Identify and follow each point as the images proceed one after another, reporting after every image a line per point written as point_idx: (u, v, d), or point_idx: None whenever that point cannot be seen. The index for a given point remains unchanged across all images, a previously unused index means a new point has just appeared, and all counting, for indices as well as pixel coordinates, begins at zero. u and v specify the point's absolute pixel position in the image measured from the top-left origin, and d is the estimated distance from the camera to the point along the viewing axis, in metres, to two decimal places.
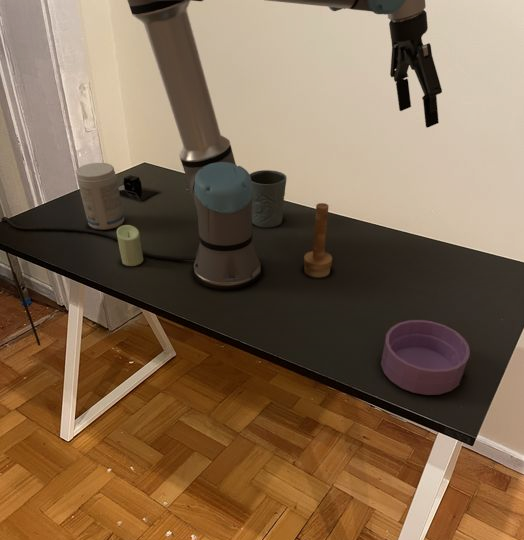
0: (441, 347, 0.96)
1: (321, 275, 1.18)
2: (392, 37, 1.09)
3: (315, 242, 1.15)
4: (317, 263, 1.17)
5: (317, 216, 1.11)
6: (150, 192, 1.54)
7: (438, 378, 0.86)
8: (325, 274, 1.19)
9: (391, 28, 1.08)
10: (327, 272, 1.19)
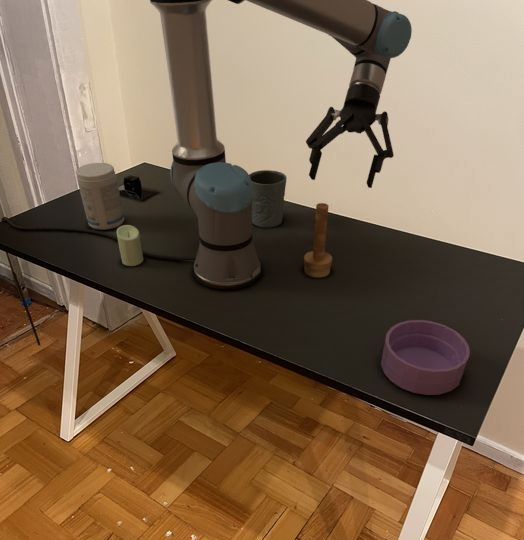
0: (441, 347, 0.96)
1: (321, 275, 1.18)
2: (358, 94, 1.15)
3: (315, 242, 1.15)
4: (317, 263, 1.17)
5: (317, 216, 1.11)
6: (150, 192, 1.54)
7: (438, 378, 0.86)
8: (325, 274, 1.19)
9: (361, 86, 1.15)
10: (327, 272, 1.19)
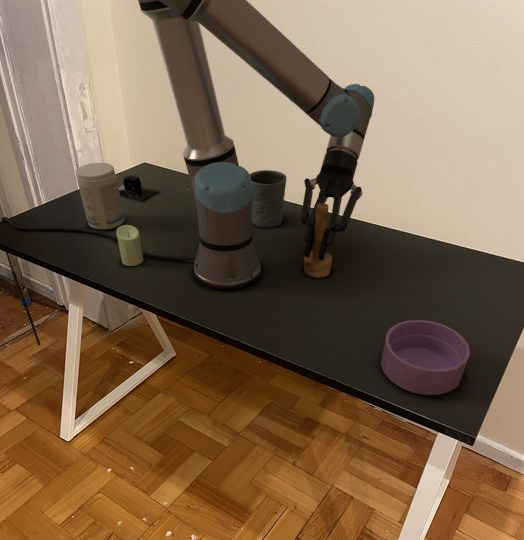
0: (441, 347, 0.96)
1: (321, 275, 1.18)
2: (336, 161, 1.12)
3: (315, 242, 1.15)
4: (317, 263, 1.17)
5: (317, 216, 1.11)
6: (150, 192, 1.54)
7: (438, 378, 0.86)
8: (325, 274, 1.19)
9: (338, 153, 1.12)
10: (327, 272, 1.19)
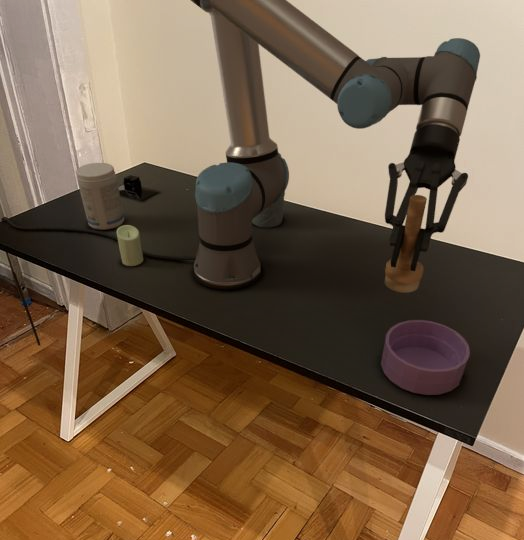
0: (441, 347, 0.96)
1: (409, 290, 0.91)
2: (435, 138, 0.84)
3: (404, 247, 0.88)
4: (406, 274, 0.89)
5: (411, 212, 0.84)
6: (150, 192, 1.54)
7: (438, 378, 0.86)
8: (414, 288, 0.91)
9: (438, 129, 0.84)
10: (417, 286, 0.91)
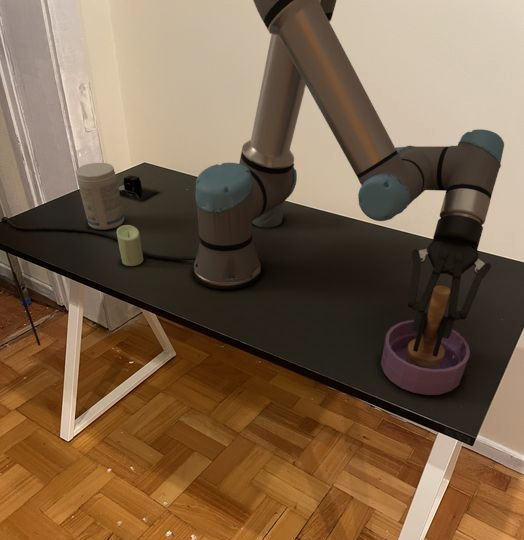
0: None
1: None
2: (459, 230, 0.86)
3: (426, 332, 0.89)
4: (427, 358, 0.90)
5: (434, 303, 0.85)
6: (150, 192, 1.54)
7: (438, 378, 0.86)
8: None
9: (462, 220, 0.86)
10: (438, 368, 0.93)
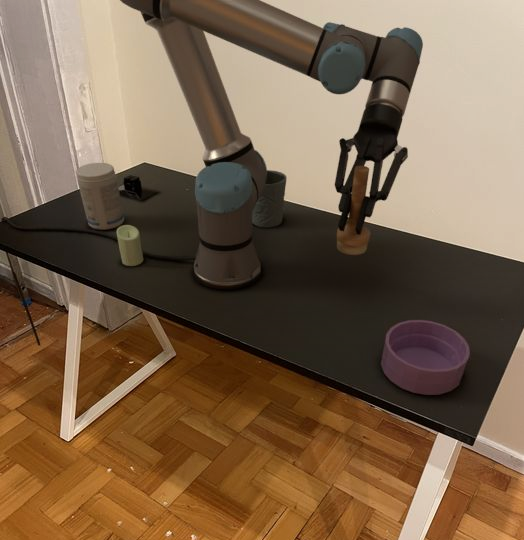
0: (441, 347, 0.96)
1: (357, 252, 1.02)
2: (378, 116, 0.95)
3: (351, 213, 0.99)
4: (353, 238, 1.00)
5: (355, 181, 0.95)
6: (150, 192, 1.54)
7: (438, 378, 0.86)
8: (362, 251, 1.02)
9: (381, 107, 0.95)
10: (364, 249, 1.02)
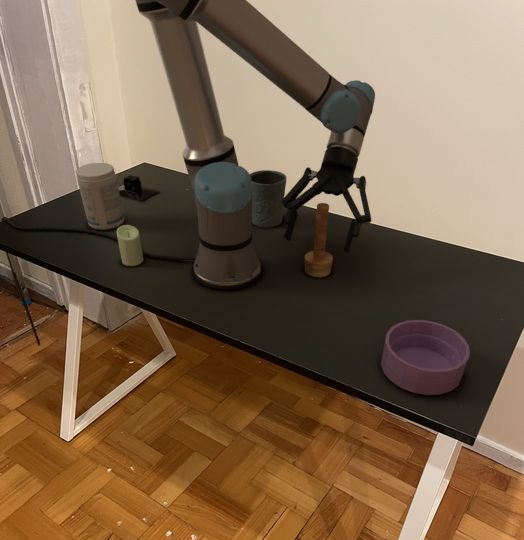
0: (441, 347, 0.96)
1: (322, 275, 1.18)
2: (336, 157, 1.12)
3: (316, 242, 1.15)
4: (318, 263, 1.17)
5: (318, 216, 1.11)
6: (150, 192, 1.54)
7: (438, 378, 0.86)
8: (326, 274, 1.19)
9: (339, 150, 1.12)
10: (328, 272, 1.19)
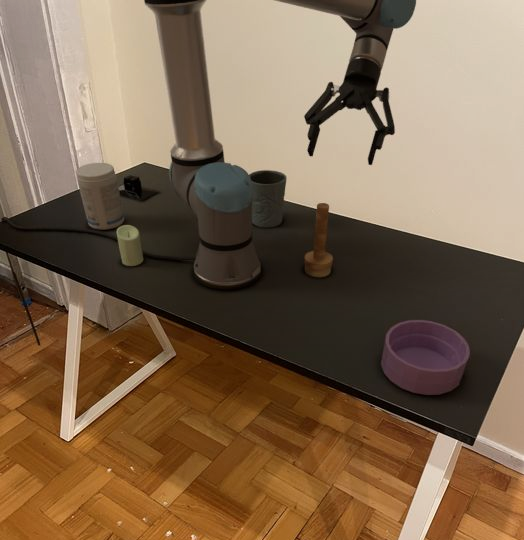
0: (441, 347, 0.96)
1: (322, 275, 1.18)
2: (360, 68, 1.11)
3: (316, 242, 1.15)
4: (318, 263, 1.17)
5: (318, 216, 1.11)
6: (150, 192, 1.54)
7: (438, 378, 0.86)
8: (326, 274, 1.19)
9: (362, 61, 1.12)
10: (328, 272, 1.19)
